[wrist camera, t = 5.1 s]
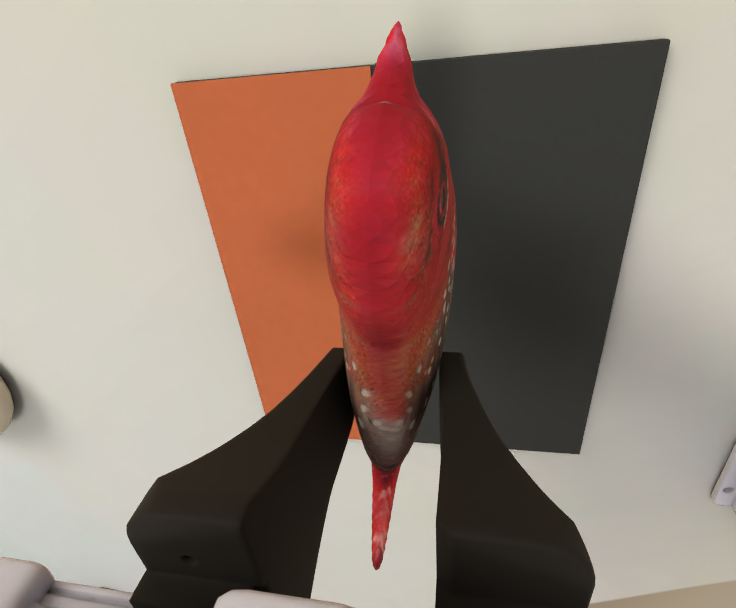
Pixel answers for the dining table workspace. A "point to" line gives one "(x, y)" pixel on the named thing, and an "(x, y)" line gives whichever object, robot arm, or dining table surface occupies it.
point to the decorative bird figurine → (390, 263)
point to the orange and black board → (473, 217)
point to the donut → (5, 406)
